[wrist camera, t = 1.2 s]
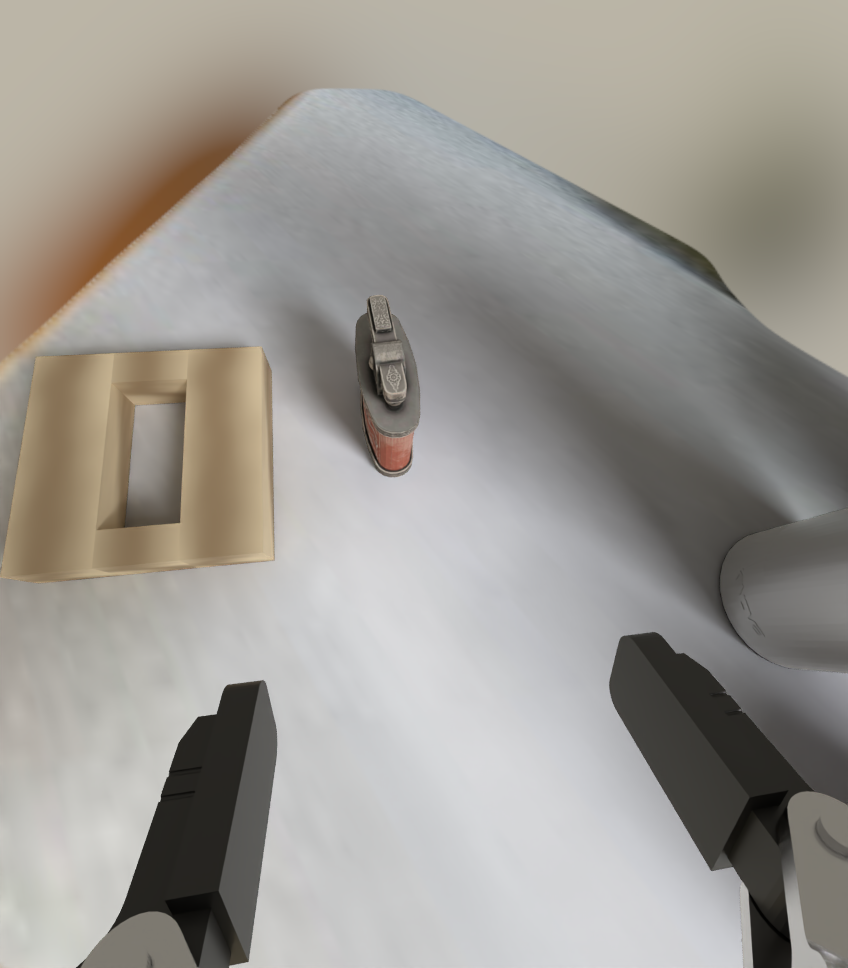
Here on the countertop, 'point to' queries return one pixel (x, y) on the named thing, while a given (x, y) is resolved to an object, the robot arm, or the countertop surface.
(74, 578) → the rail
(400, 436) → the lighter
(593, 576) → the countertop surface
